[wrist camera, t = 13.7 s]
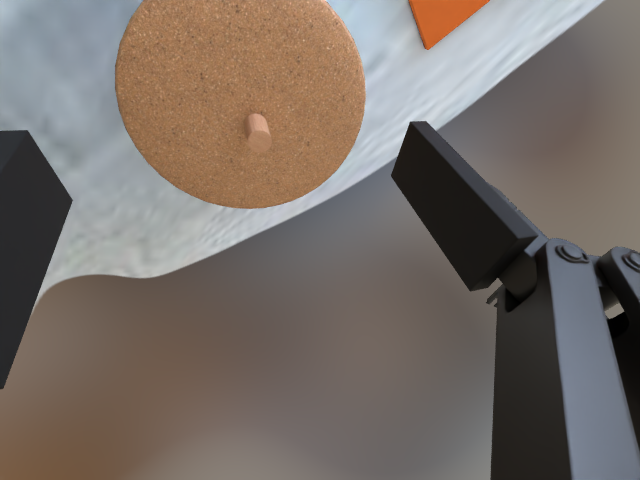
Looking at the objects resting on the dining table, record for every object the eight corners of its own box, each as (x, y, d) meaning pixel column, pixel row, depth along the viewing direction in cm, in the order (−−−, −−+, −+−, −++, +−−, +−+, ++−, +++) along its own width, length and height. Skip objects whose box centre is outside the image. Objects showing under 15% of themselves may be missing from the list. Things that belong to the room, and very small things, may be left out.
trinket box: (268, 162, 24) (290, 250, 18) (114, 86, 18) (72, 184, 12) (357, 37, 19) (427, 103, 13) (186, -135, 13) (175, -156, 7)
